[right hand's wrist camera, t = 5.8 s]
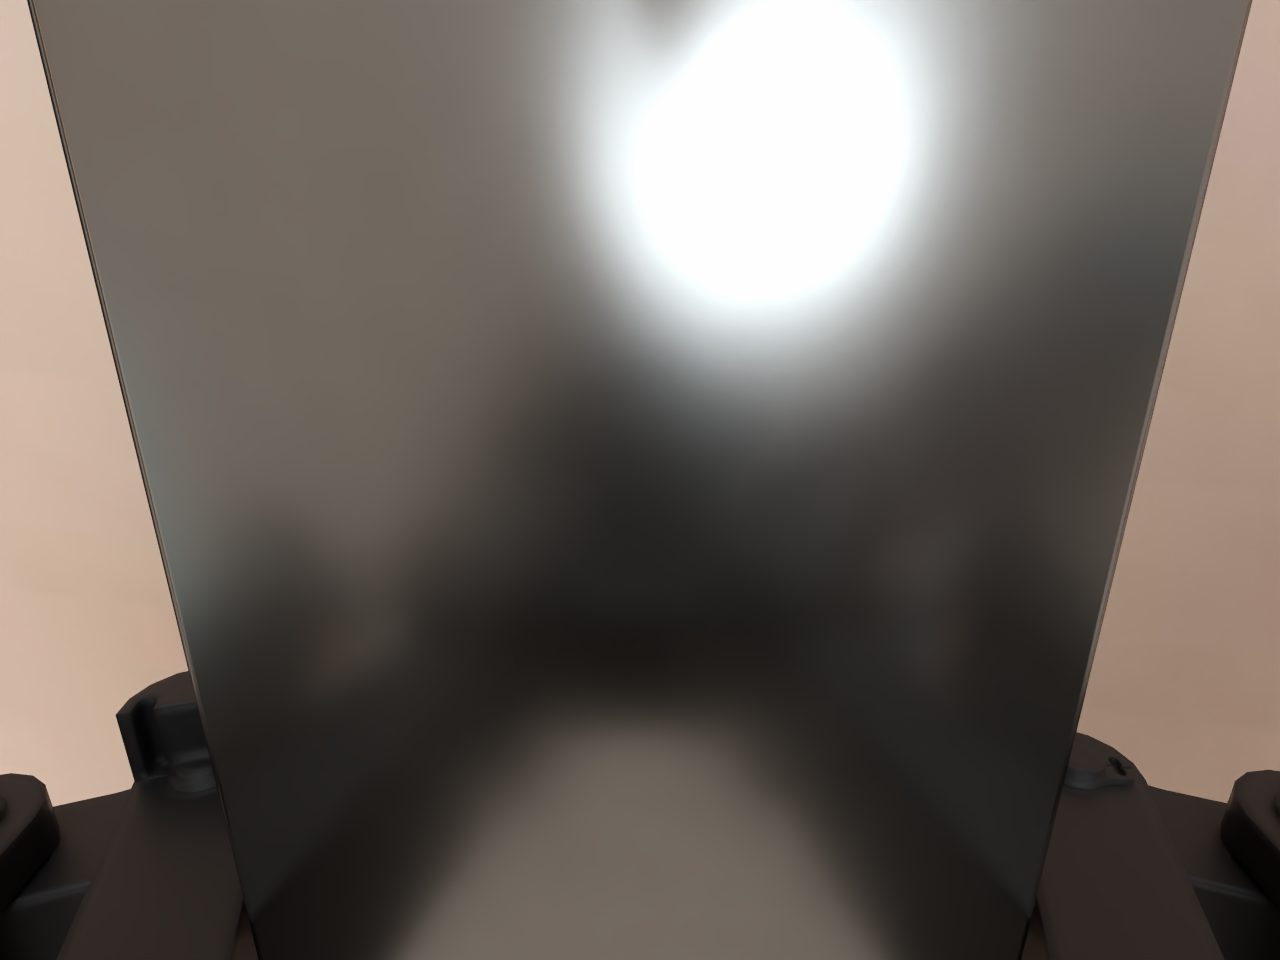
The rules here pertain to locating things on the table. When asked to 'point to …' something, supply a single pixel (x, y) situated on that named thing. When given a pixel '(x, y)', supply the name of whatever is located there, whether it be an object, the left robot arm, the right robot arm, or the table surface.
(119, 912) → the right robot arm
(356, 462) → the bar
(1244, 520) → the table surface
